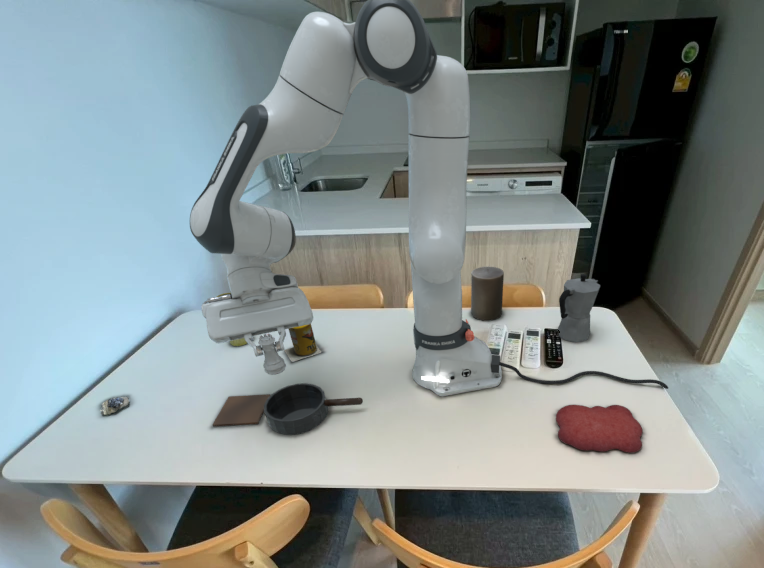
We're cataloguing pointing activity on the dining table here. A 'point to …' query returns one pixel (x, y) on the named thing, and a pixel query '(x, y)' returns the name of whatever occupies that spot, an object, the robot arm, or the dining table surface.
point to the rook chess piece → (271, 356)
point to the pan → (296, 409)
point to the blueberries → (114, 405)
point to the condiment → (302, 343)
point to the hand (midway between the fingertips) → (270, 352)
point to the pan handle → (343, 401)
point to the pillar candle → (487, 293)
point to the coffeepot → (577, 308)
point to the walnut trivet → (241, 410)
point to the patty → (599, 428)
